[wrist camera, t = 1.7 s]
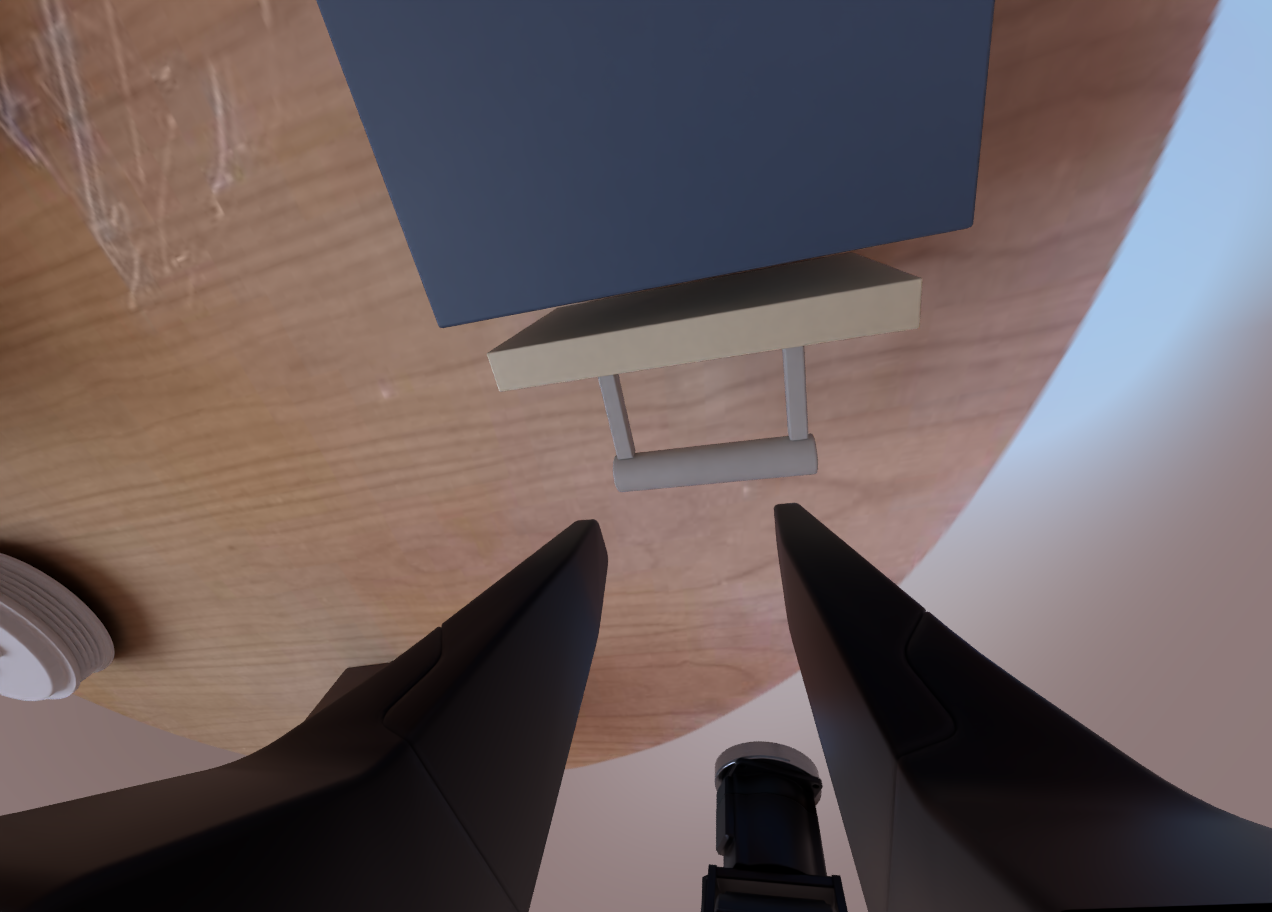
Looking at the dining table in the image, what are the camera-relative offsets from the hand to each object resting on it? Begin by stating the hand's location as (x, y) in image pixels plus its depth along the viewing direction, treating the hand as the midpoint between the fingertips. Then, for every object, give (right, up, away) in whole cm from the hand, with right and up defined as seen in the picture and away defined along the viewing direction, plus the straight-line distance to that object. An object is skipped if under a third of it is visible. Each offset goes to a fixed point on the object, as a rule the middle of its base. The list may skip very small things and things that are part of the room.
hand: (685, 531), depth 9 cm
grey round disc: (-47, -10, +29) cm, 56 cm away
